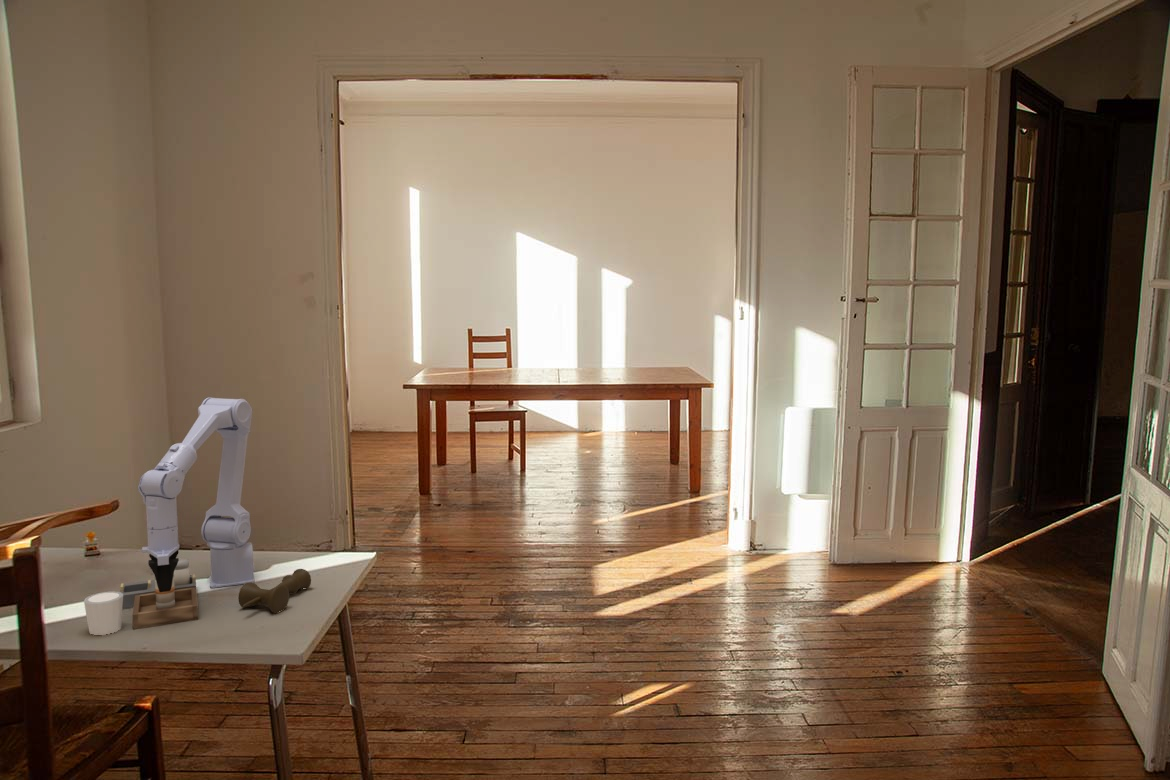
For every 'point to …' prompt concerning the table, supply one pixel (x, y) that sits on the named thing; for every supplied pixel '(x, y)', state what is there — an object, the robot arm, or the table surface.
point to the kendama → (274, 591)
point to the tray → (150, 616)
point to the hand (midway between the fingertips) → (165, 587)
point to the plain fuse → (182, 572)
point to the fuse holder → (145, 590)
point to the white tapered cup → (104, 612)
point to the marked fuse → (165, 597)
